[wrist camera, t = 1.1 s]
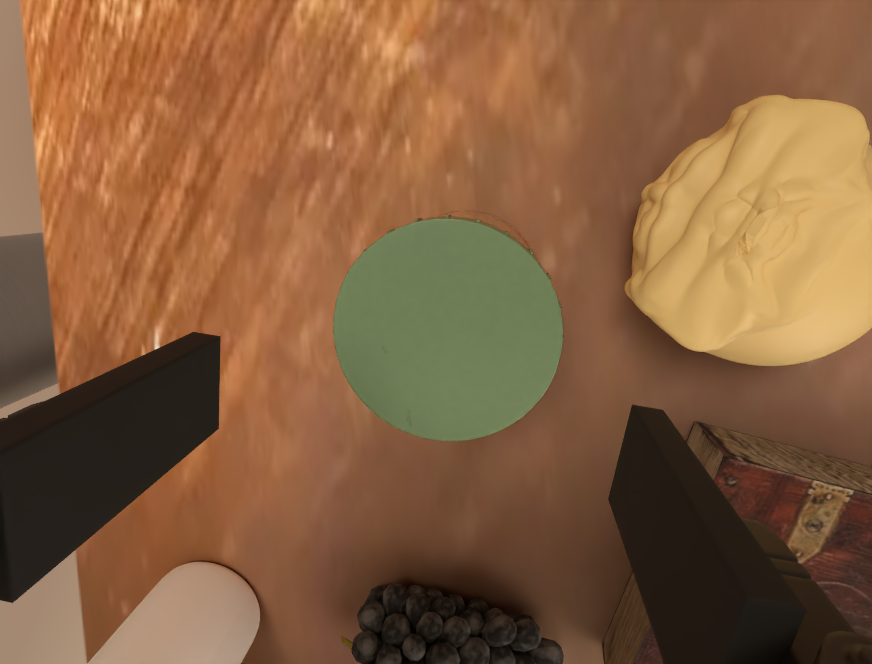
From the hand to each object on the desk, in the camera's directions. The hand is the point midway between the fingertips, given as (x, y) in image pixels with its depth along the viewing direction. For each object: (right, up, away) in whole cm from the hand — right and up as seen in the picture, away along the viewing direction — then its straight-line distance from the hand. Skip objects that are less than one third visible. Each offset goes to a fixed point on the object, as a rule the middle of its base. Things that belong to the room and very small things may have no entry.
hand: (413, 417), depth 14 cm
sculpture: (+17, +8, +17) cm, 25 cm away
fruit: (+2, -19, +26) cm, 32 cm away
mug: (-17, -21, +29) cm, 40 cm away
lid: (+1, +2, +8) cm, 8 cm away
